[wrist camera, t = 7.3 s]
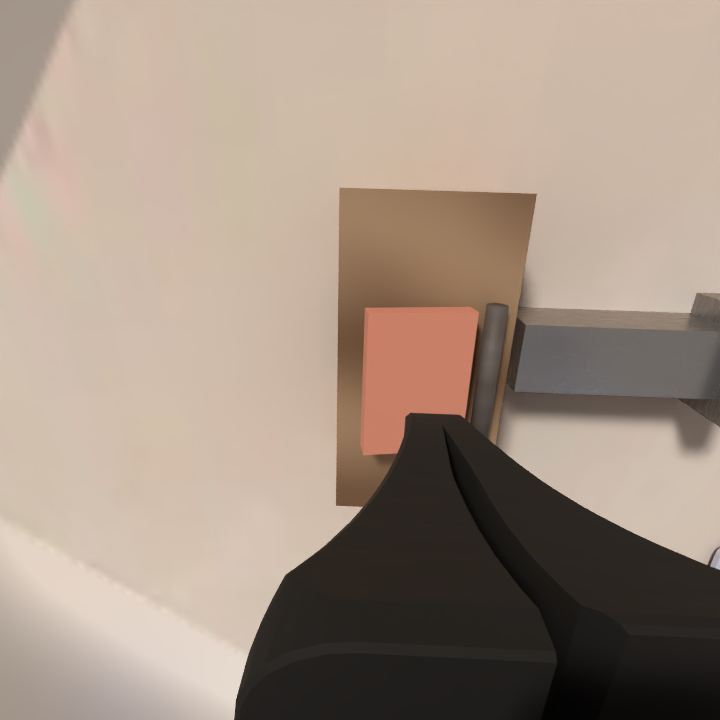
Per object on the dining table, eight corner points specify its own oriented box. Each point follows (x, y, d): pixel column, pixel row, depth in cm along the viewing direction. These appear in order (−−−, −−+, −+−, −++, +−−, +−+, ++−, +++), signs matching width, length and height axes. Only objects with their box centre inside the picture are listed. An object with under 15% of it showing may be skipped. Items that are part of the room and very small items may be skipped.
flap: (460, 449, 15) (363, 455, 15) (454, 439, 16) (360, 444, 15) (479, 312, 14) (368, 313, 13) (470, 306, 14) (364, 307, 14)
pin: (691, 390, 20) (754, 430, 17) (493, 383, 20) (516, 421, 17) (724, 293, 19) (801, 316, 15) (508, 286, 19) (537, 306, 15)
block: (463, 451, 22) (488, 525, 17) (343, 446, 22) (334, 518, 17) (497, 193, 17) (545, 193, 12) (347, 189, 17) (337, 187, 13)
